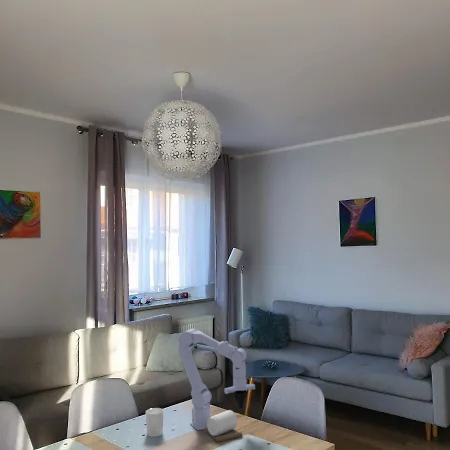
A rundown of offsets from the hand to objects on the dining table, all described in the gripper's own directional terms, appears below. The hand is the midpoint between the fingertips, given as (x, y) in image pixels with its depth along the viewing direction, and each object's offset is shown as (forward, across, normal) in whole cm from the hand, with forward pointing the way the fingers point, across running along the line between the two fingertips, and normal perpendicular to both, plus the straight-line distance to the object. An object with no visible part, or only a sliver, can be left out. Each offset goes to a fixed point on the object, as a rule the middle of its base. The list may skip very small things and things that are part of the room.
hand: (240, 407), depth 205 cm
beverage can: (+5, -3, +3) cm, 7 cm away
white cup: (+10, -35, +15) cm, 39 cm away
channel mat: (+10, -9, 0) cm, 13 cm away
